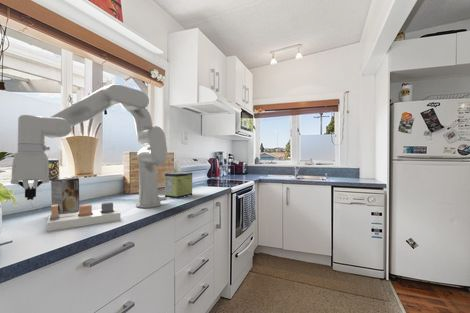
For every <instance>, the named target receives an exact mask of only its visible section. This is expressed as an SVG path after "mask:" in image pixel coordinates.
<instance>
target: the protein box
mask: <svg viewBox="0 0 470 313" xmlns="http://www.w3.org/2000/svg"><path fill="white" fill-rule="evenodd" d="M188 195H191V196H193V172H188V171H187V172H185V171H178V172H167V173H165V174H164V197H166V198H167V197H170V198H169V199H175V198H177V199H180V198H179V197H182V198H185V197H184V196H186V197H189V196H188Z"/></svg>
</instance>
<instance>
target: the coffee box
mask: <svg viewBox="0 0 470 313" xmlns="http://www.w3.org/2000/svg"><path fill="white" fill-rule="evenodd" d="M50 182H51V184H50V187H51V188H50V189H51V205H57V204H58V214H68V213H76V212H79V206H80V178H78V177H77V178H76V177H75V178H74V177H72V178H71V177H68V178H67V177H65V178H59V179H58V178H57V179H51V181H50Z"/></svg>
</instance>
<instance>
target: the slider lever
mask: <svg viewBox="0 0 470 313" xmlns="http://www.w3.org/2000/svg"><path fill="white" fill-rule="evenodd" d="M50 207H51V208H50V210H51V213H50V215H49V216H50V220H51V219H58V218H60V214H58V204H57V205H52V204H51V206H50Z"/></svg>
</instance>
